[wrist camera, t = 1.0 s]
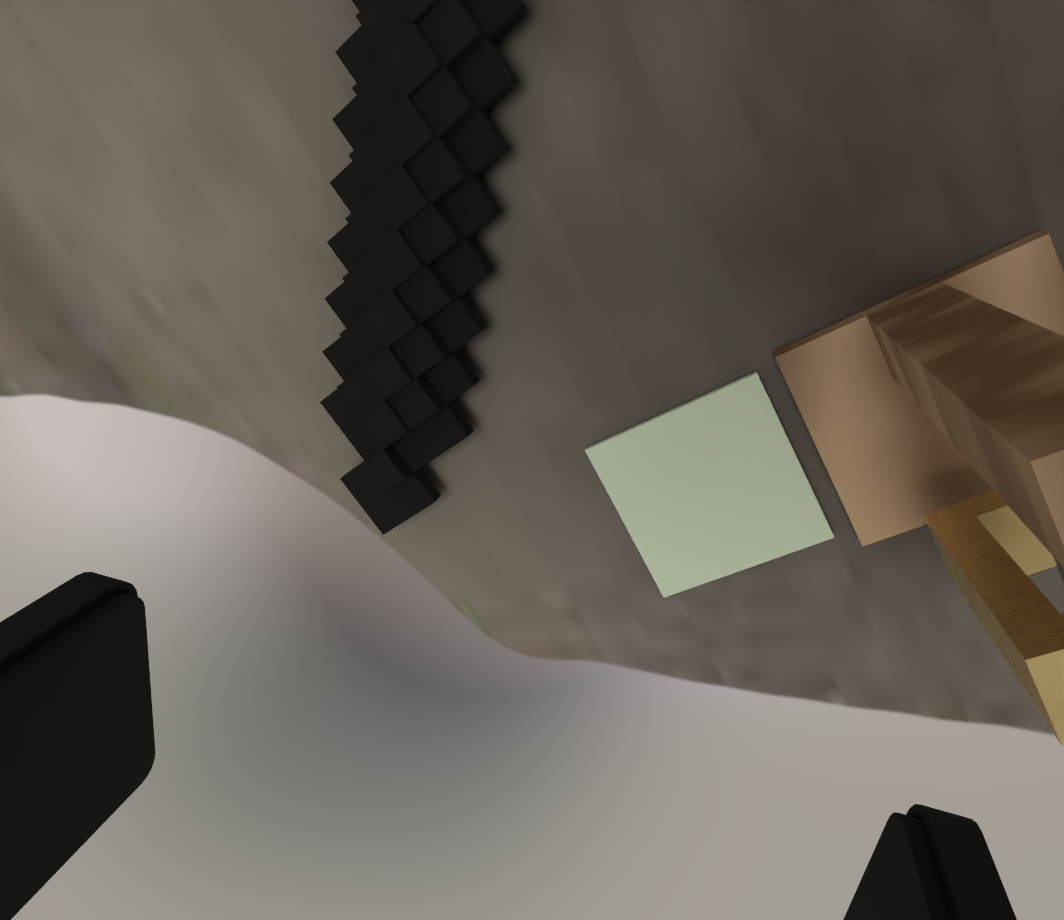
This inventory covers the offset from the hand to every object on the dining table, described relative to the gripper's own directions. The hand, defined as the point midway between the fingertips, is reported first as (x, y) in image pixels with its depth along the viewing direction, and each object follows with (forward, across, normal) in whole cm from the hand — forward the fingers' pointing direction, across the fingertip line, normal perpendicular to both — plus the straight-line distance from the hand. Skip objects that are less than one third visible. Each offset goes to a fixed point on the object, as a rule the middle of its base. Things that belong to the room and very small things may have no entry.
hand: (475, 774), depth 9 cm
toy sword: (+29, +12, -8) cm, 32 cm away
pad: (+28, -4, +7) cm, 29 cm away
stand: (+28, -13, 0) cm, 31 cm away
